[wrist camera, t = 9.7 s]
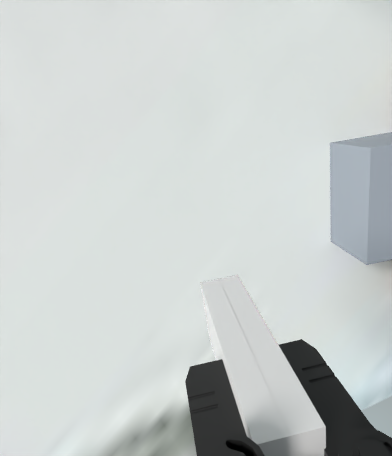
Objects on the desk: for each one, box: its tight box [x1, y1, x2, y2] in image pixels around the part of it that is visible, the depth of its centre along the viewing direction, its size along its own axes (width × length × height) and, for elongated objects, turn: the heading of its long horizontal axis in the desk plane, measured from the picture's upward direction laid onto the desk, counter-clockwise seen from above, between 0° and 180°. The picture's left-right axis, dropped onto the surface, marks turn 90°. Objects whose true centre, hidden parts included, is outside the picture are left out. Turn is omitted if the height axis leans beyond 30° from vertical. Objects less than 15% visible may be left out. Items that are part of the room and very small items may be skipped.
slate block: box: [330, 132, 392, 265], centre depth 30 cm, size 10×8×6 cm
